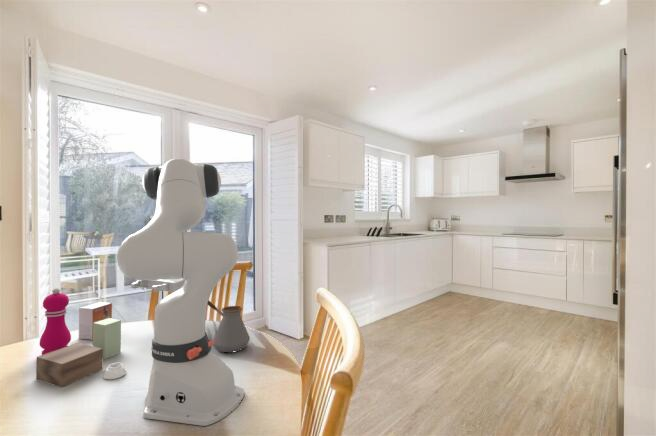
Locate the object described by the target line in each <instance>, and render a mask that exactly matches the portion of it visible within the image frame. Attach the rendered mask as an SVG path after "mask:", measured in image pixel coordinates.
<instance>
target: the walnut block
mask: <svg viewBox="0 0 656 436" xmlns="http://www.w3.org/2000/svg"><path fill="white" fill-rule="evenodd" d="M103 360H104V359H103V348H98V347H94V346H93V345H91V344H90V345H89V344H84V343H82V342H81V343H80V342H76V343H74V344H73V343H72V344H70V345H67V347H64V348H61V349H58V350H55V351H52V352H50V353H47V354H44V355H42V354H41V355H38V356H36V367H35V368H36V370H35V371H36V372H35V373H36V374H35V379H36V380H37V381H41V382H44V383H47V384H51V385H53V386H56V387H60V388H64V387H67V386H69V385H71V384H73V383H75V382H77V380H78V381H79V380H82V379H84V378H86V377H89V376H91V375H93V374H95V373H99V372H100V371H102V370H103V364H104V363H103Z"/></svg>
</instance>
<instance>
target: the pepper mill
mask: <svg viewBox="0 0 656 436" xmlns="http://www.w3.org/2000/svg"><path fill="white" fill-rule="evenodd" d="M42 301H43V302H42V307H43V308H44V309H45V310H44V313H45V314H44V316H45V317H46V324H45V329H44V330H43V332H42V334H41V336H40V339H39V347H40V348H42V351H41V355H44V354H47V353H50V352H52V351H55V350H58V349H61V348H64V347H67V346H68V345H69V343H70V342H71V340H72V334H71V331H70V330H69V328H68V326H67V324H66V314H67V313H68V312H67V310H68V308H67V306H68V305H69V303H70V302H69V301H70V298H69V296H68V295H67V294H65V293H61V289H60V288H57V287H55V288H54V289H52V293H50V294H49V295H47V296H46V297H45V298H44V299H43V300H42Z"/></svg>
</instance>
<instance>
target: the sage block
mask: <svg viewBox="0 0 656 436" xmlns="http://www.w3.org/2000/svg"><path fill="white" fill-rule="evenodd" d="M121 337H122V320H121V319H116V318H113V317H112V318H108V319H104V320H101V321H98V322H94V323H93V340H92V346H94V347H98V348H103V360H106V359H108V358H111V357H113V356H115V355H116V356H117V355H118V354H120V353H121V351H122V350H121V347H122V340H121V339H122V338H121Z"/></svg>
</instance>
